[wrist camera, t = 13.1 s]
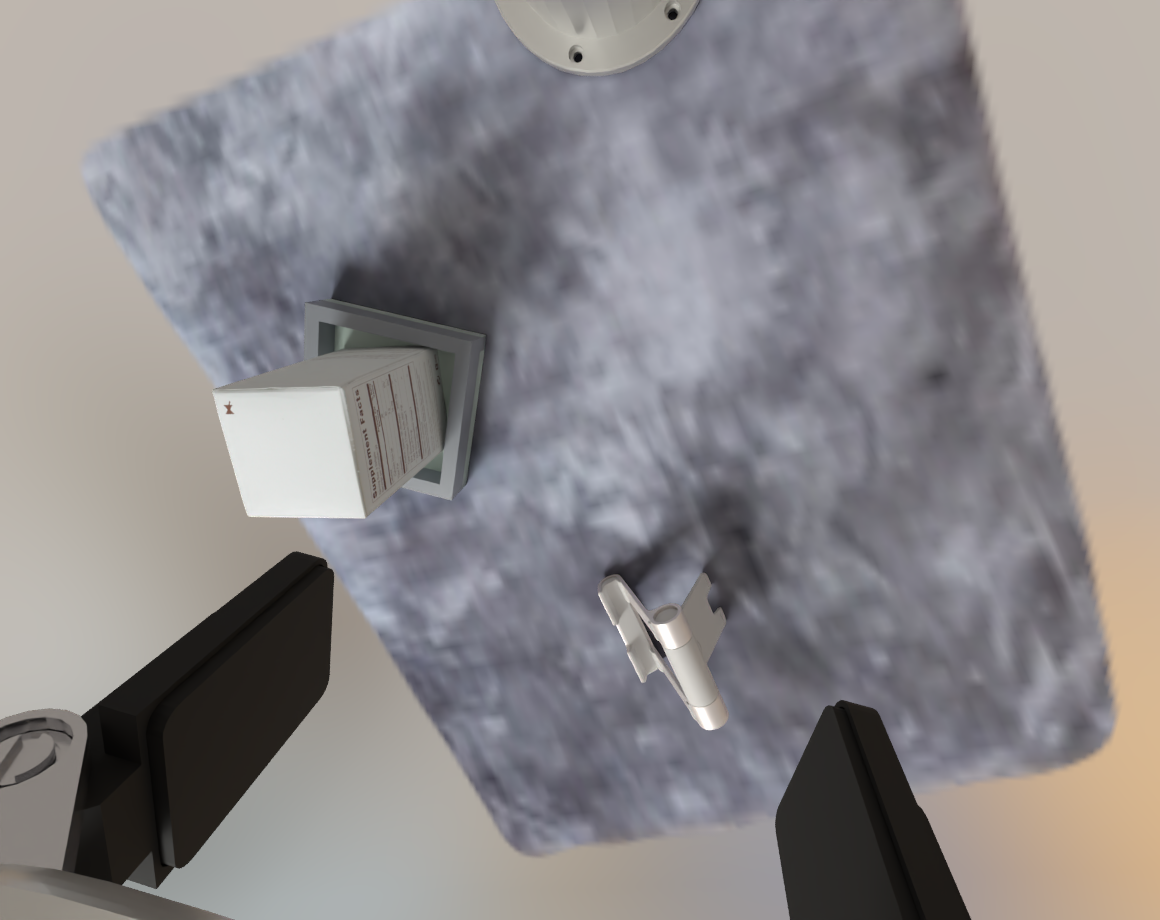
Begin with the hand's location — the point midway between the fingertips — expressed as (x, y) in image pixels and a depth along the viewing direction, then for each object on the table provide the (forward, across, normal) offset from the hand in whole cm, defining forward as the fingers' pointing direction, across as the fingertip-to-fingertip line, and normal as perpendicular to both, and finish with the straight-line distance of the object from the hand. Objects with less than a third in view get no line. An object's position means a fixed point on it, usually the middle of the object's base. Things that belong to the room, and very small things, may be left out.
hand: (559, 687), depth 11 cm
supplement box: (+30, +17, +6) cm, 34 cm away
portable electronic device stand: (+31, -6, +18) cm, 36 cm away
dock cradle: (+30, +17, +6) cm, 35 cm away
